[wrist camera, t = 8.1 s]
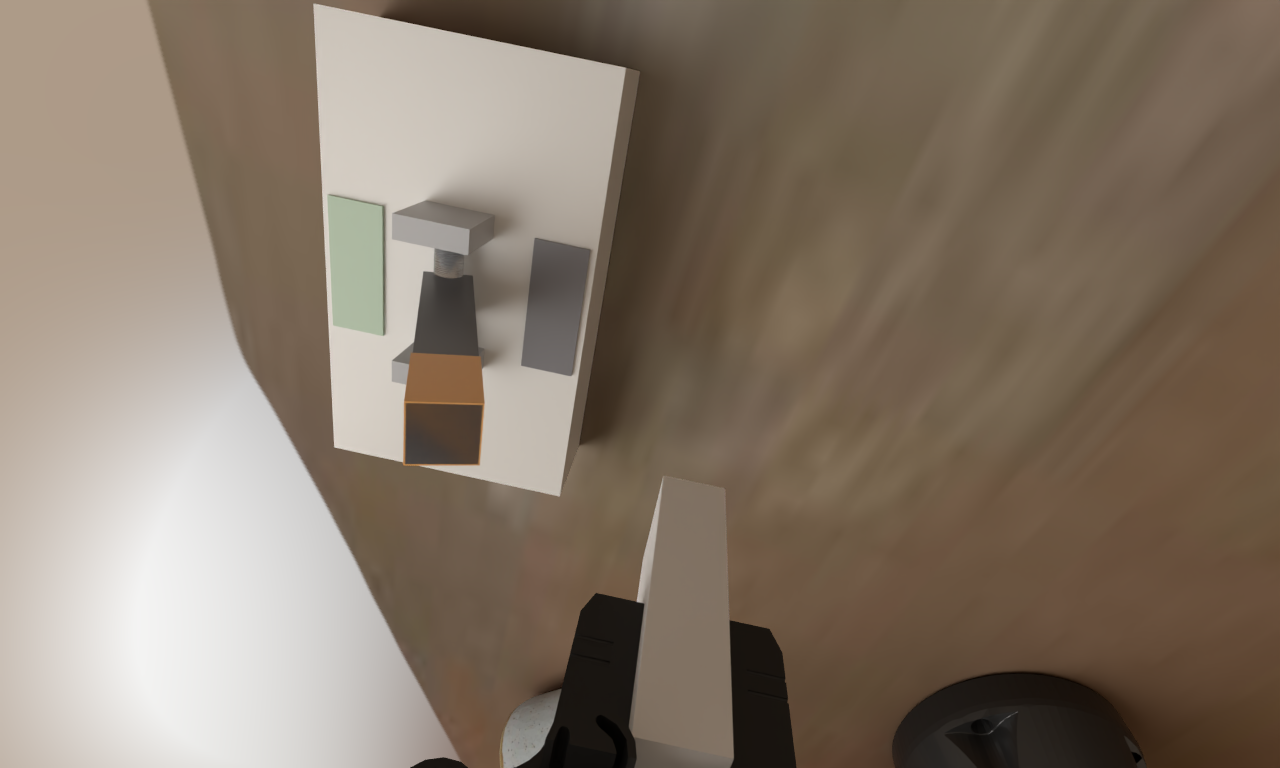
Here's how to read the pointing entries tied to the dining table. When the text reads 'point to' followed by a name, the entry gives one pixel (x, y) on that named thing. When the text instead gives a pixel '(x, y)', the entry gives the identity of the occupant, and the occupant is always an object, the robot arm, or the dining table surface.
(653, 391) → the dining table surface
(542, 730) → the ceramic mug
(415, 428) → the switch lever
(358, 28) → the switch box
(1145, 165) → the dining table surface
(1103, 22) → the dining table surface
